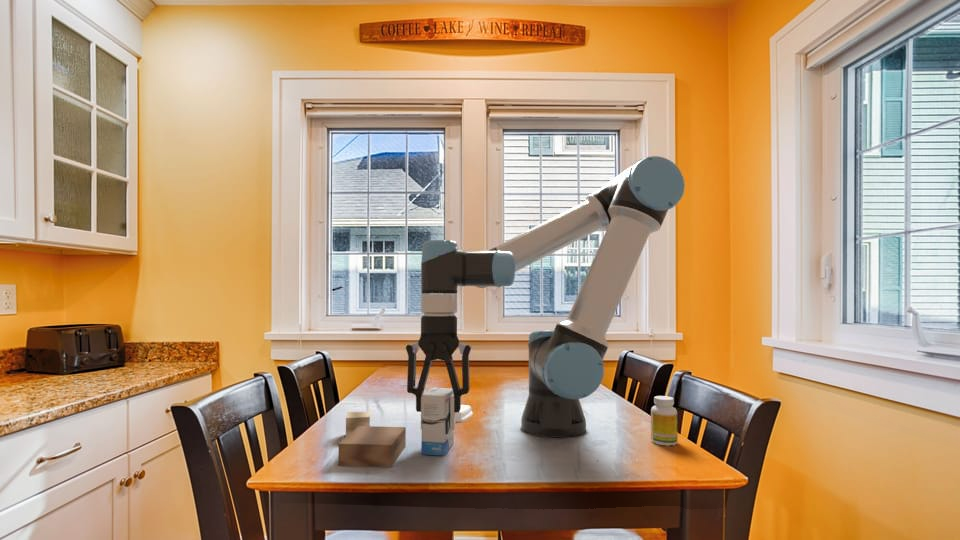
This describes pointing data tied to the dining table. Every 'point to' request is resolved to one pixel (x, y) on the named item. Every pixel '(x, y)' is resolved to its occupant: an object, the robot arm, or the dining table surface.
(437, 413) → the ink box
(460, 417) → the soap
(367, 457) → the walnut block
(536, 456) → the dining table surface
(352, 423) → the maple cube
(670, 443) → the supplement bottle
